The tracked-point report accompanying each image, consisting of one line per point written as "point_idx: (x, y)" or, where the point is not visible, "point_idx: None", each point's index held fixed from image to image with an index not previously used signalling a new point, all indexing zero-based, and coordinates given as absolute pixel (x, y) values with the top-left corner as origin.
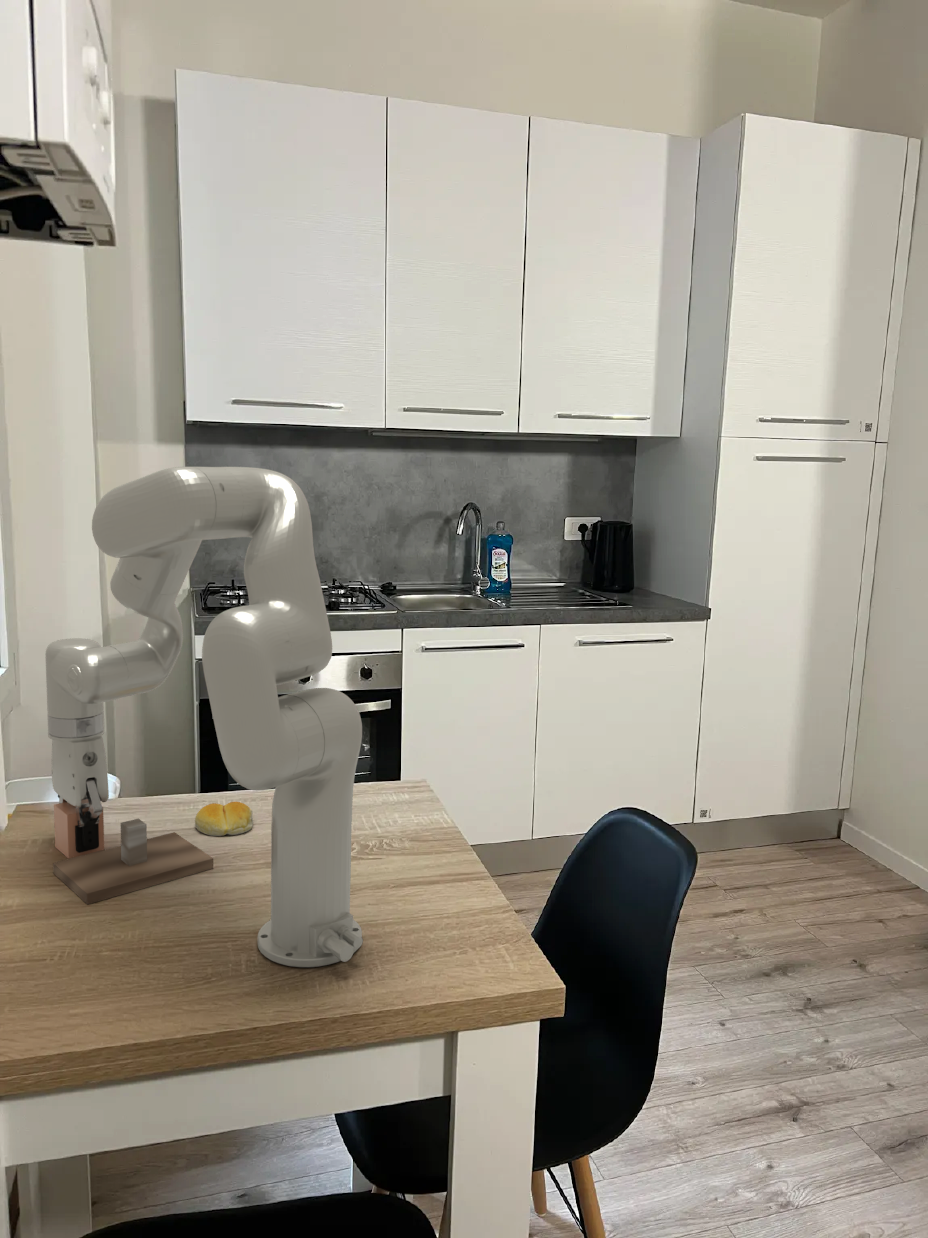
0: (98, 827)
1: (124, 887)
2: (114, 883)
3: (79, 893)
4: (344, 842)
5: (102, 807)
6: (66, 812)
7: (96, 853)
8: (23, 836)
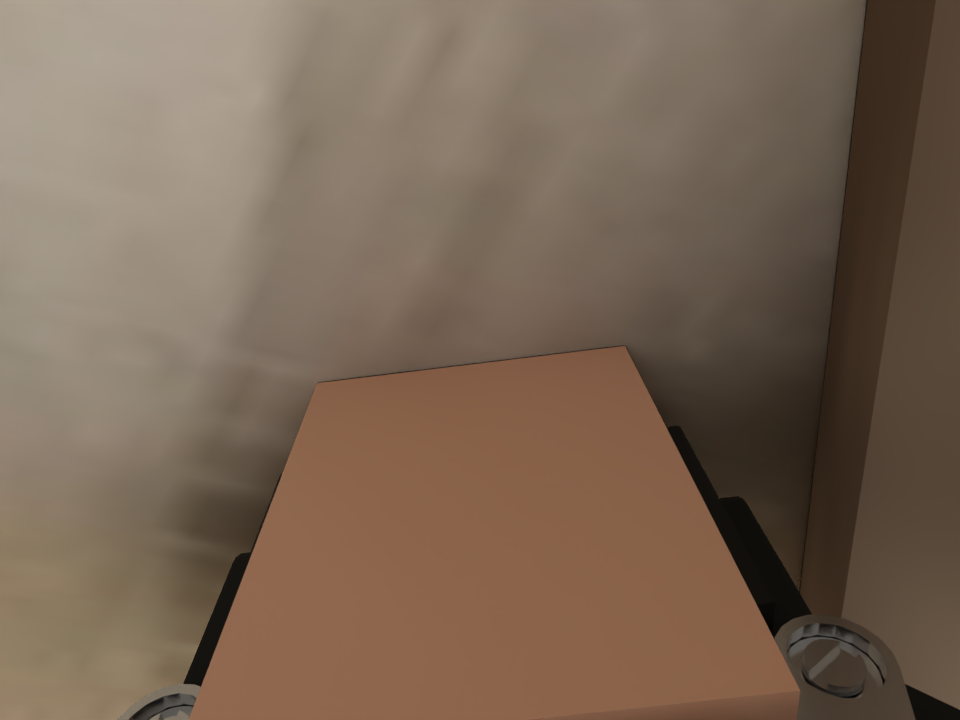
0: (744, 550)
1: None
2: None
3: None
4: None
5: (796, 698)
6: None
7: (893, 506)
8: (83, 714)
